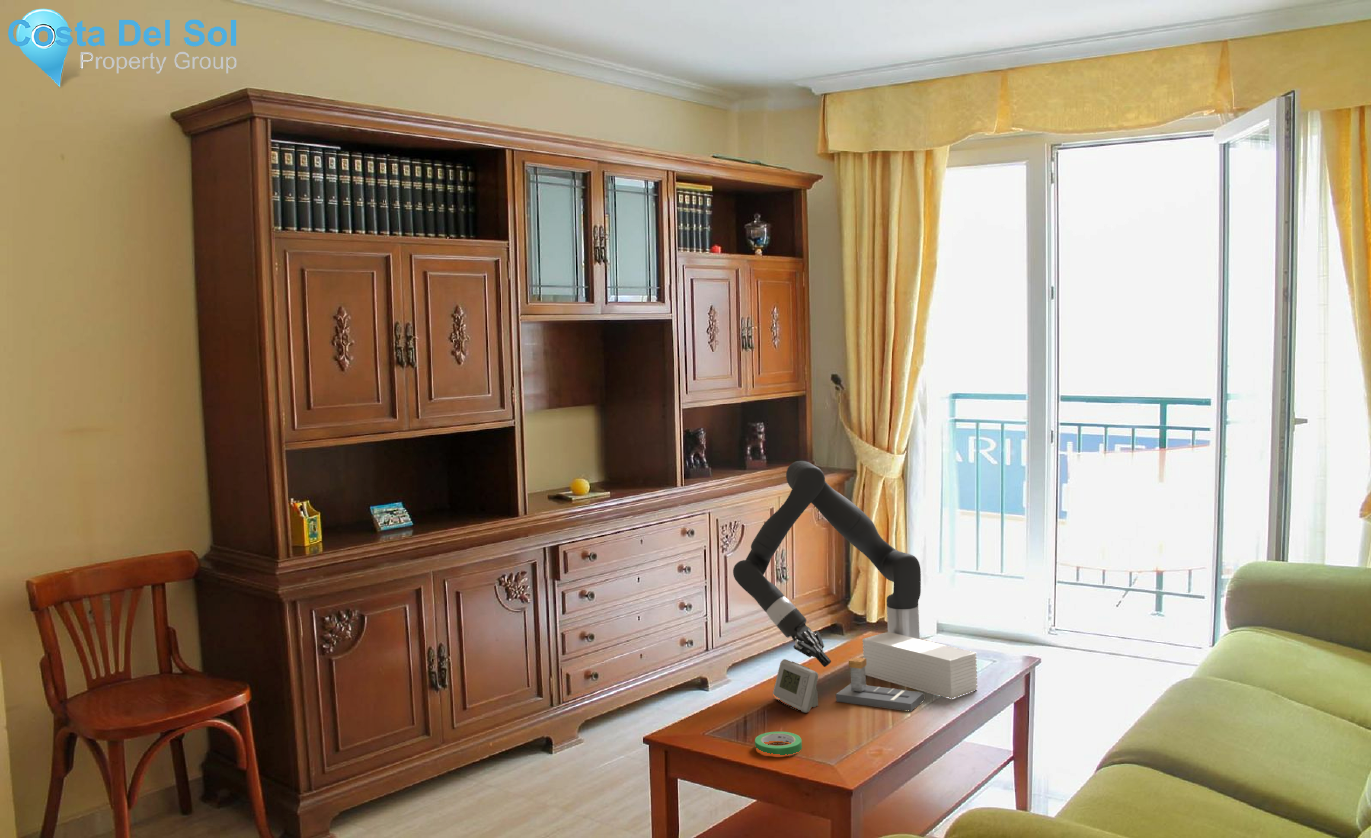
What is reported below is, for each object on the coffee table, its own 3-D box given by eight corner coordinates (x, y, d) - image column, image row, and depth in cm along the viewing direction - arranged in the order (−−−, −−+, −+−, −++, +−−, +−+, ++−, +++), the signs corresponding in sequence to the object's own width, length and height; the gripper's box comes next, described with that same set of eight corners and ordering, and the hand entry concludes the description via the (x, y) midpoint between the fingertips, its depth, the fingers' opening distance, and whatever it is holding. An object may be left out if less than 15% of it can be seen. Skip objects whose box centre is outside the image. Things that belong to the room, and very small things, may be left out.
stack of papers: (977, 691, 286) (976, 652, 285) (951, 700, 279) (950, 660, 279) (889, 667, 312) (888, 631, 311) (864, 675, 305) (862, 638, 305)
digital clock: (770, 698, 288) (768, 660, 288) (801, 693, 291) (799, 655, 290) (793, 716, 273) (791, 676, 272) (825, 711, 275) (823, 671, 275)
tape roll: (811, 748, 251) (810, 737, 251) (782, 762, 243) (782, 751, 243) (774, 738, 259) (774, 728, 258) (745, 752, 251) (745, 741, 250)
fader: (855, 686, 287) (853, 657, 287) (867, 688, 285) (866, 658, 285) (849, 690, 284) (848, 660, 284) (862, 692, 282) (861, 662, 282)
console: (851, 690, 291) (850, 682, 291) (924, 700, 280) (924, 692, 280) (836, 701, 283) (835, 693, 283) (911, 711, 272) (911, 703, 272)
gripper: (783, 613, 288) (826, 662, 282) (804, 602, 299) (846, 649, 293) (767, 630, 291) (809, 679, 285) (788, 619, 302) (829, 666, 296)
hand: (828, 664), depth 289 cm, fingers closed
